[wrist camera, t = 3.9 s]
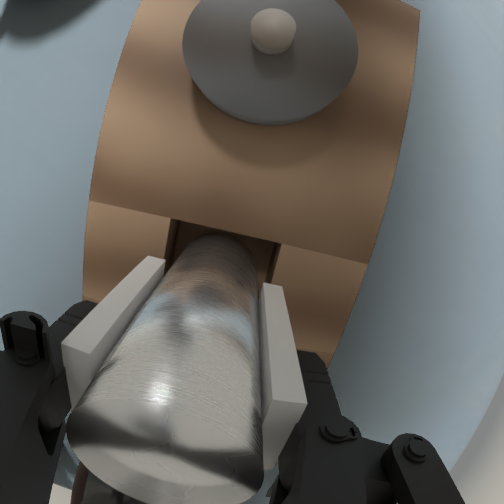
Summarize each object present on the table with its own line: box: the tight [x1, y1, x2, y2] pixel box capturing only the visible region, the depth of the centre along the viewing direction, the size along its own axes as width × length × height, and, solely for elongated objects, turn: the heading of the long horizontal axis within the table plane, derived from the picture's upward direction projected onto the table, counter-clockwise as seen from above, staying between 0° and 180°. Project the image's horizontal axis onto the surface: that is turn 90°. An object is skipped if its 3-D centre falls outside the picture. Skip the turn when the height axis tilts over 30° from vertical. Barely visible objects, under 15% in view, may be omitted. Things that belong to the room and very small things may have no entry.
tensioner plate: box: [83, 0, 420, 369], centre depth 13 cm, size 22×14×6 cm, turn 167°
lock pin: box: [66, 233, 264, 504], centre depth 10 cm, size 4×4×12 cm
